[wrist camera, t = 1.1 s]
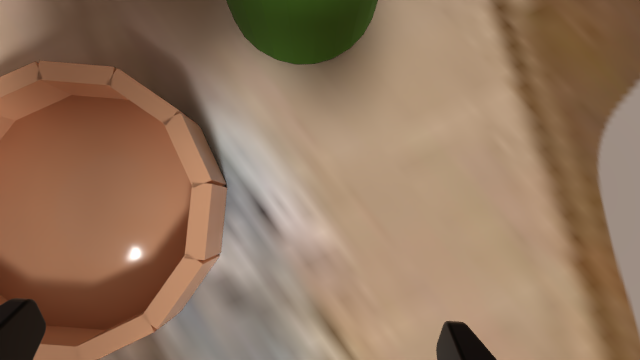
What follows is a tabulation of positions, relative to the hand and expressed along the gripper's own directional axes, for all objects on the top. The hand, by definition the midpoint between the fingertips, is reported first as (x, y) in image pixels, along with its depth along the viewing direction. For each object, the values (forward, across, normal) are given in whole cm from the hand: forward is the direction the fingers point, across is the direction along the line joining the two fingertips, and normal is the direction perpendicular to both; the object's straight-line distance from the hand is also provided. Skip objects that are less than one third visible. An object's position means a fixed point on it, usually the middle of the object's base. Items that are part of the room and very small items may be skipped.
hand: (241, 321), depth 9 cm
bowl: (+13, +11, +7) cm, 18 cm away
